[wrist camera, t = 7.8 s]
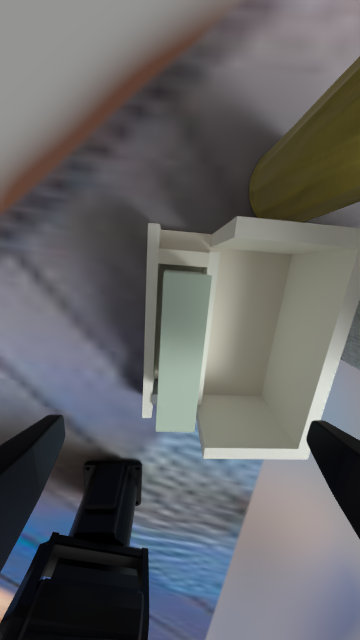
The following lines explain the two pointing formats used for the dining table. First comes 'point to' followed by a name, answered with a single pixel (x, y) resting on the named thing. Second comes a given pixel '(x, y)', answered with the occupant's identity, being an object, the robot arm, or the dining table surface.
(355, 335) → the planter
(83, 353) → the dining table surface
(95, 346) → the dining table surface
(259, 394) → the cabinet
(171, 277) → the door
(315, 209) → the vase
